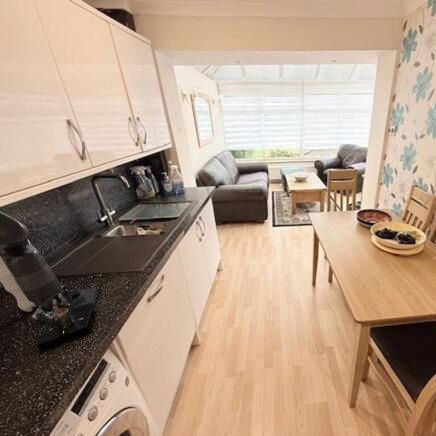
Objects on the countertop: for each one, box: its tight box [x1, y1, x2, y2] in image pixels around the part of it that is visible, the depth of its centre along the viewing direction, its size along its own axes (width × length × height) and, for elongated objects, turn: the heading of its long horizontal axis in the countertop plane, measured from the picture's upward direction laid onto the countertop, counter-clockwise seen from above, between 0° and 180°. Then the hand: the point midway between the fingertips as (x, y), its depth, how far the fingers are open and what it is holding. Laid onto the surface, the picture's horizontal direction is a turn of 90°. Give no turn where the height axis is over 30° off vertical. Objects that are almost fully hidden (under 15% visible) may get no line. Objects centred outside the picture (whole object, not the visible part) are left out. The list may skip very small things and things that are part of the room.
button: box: [65, 289, 79, 300], centre depth 88 cm, size 4×4×2 cm
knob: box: [50, 307, 75, 330], centre depth 76 cm, size 4×4×5 cm
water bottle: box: [0, 257, 36, 313], centre depth 85 cm, size 7×7×25 cm
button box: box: [51, 286, 99, 313], centre depth 89 cm, size 12×10×4 cm
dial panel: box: [36, 307, 96, 352], centre depth 78 cm, size 12×10×3 cm
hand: (65, 322), depth 77 cm, fingers closed on knob, 4 cm apart
